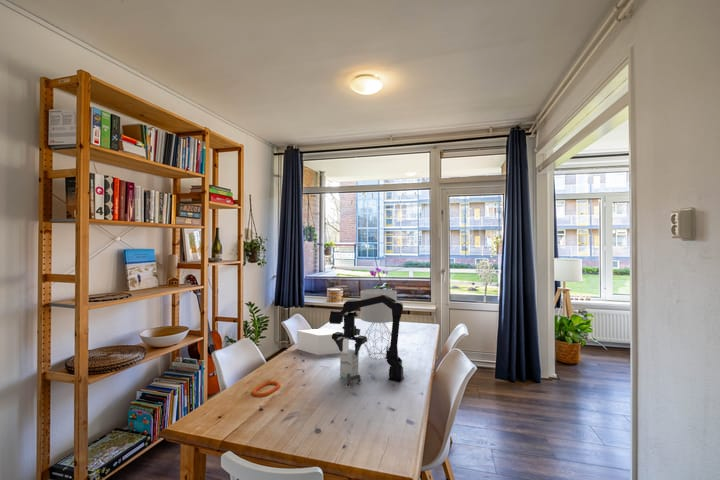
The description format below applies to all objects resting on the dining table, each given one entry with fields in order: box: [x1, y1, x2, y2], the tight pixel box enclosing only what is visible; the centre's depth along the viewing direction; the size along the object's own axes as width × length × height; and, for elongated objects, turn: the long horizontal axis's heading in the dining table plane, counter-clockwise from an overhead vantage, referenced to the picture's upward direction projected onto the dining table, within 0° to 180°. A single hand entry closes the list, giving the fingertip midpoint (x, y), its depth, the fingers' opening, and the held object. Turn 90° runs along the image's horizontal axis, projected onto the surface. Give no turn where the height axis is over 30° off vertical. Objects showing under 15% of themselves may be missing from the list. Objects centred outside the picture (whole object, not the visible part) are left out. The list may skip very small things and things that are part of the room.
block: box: [296, 327, 350, 356], centre depth 211 cm, size 18×35×12 cm, turn 80°
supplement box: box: [339, 348, 360, 377], centre depth 170 cm, size 7×7×13 cm
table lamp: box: [360, 288, 398, 360], centre depth 201 cm, size 22×22×40 cm
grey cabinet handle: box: [345, 373, 362, 389], centre depth 160 cm, size 8×9×4 cm
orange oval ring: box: [251, 380, 281, 398], centre depth 154 cm, size 10×2×15 cm
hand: (349, 354), depth 170 cm, fingers open, 9 cm apart
